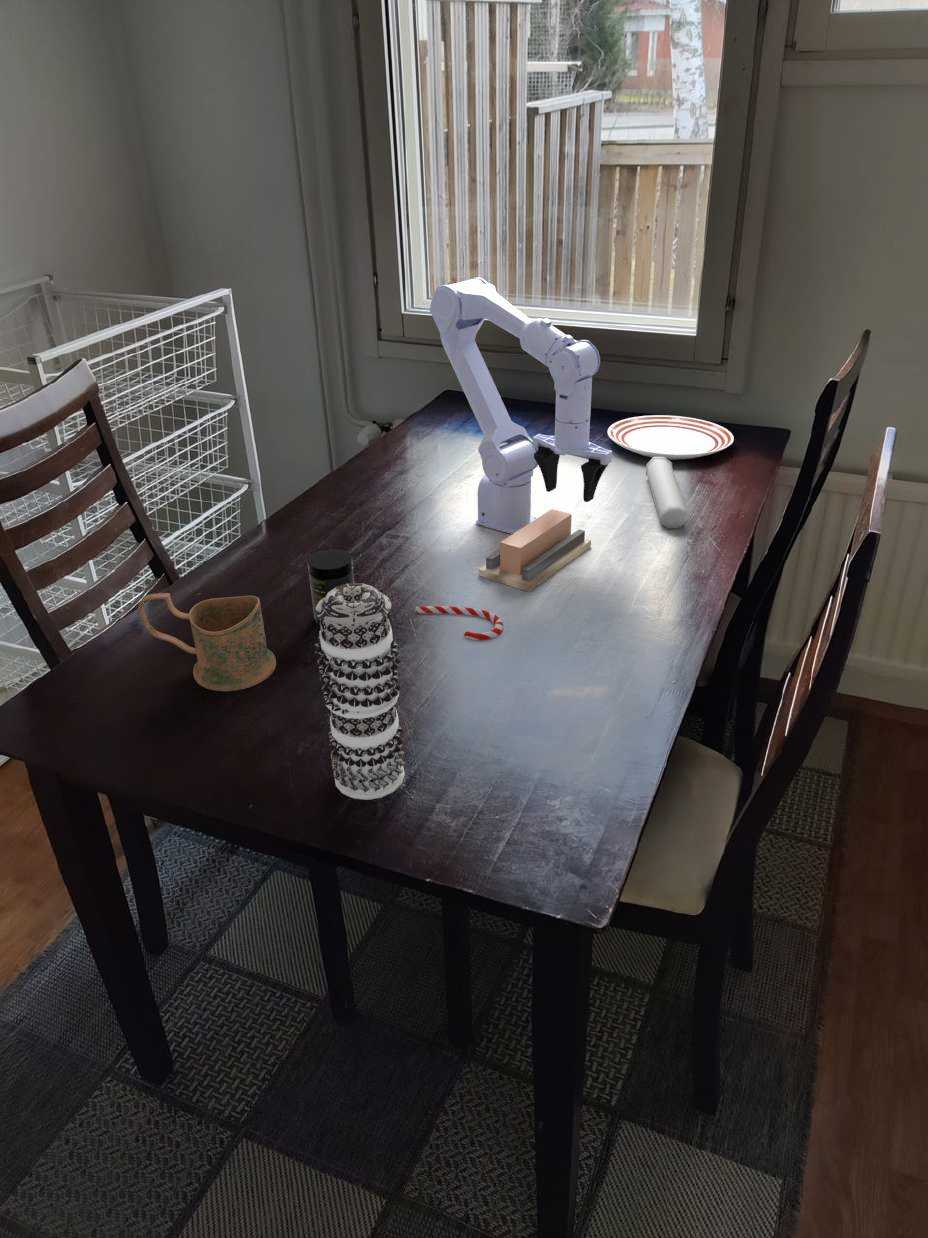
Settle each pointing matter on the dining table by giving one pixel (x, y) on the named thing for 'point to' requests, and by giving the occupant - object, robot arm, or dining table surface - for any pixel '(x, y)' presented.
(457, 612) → the candy cane
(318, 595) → the supplement container
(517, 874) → the dining table surface
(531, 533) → the clay block
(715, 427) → the dinner plate
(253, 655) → the mug
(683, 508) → the tube
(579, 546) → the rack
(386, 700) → the decorative candle
